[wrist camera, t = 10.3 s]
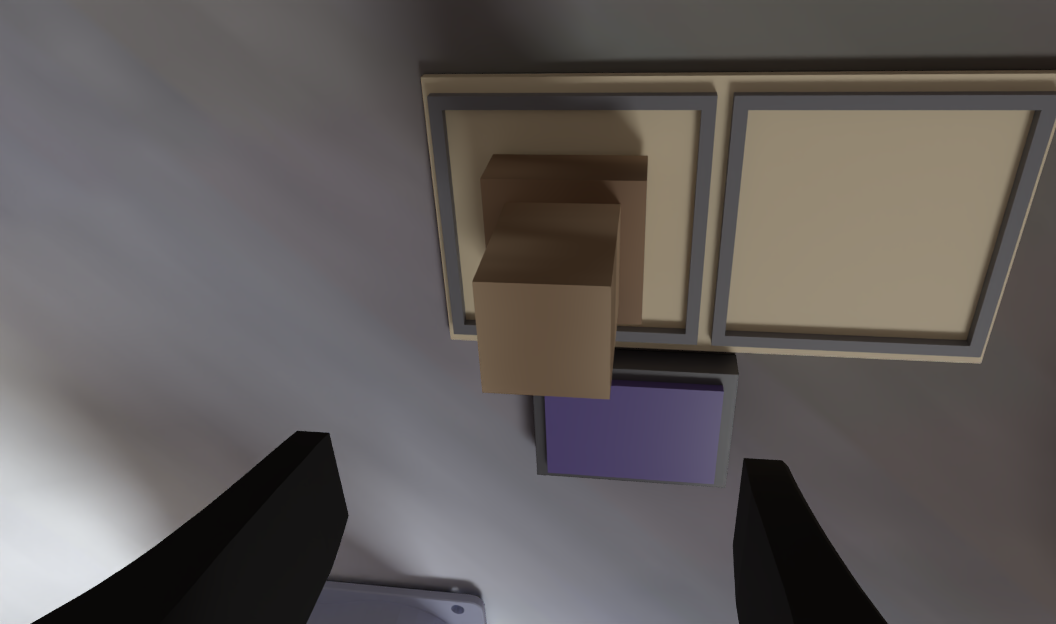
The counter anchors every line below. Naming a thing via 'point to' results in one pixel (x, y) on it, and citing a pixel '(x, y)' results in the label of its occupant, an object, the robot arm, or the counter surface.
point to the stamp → (558, 270)
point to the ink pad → (645, 422)
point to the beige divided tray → (776, 198)
